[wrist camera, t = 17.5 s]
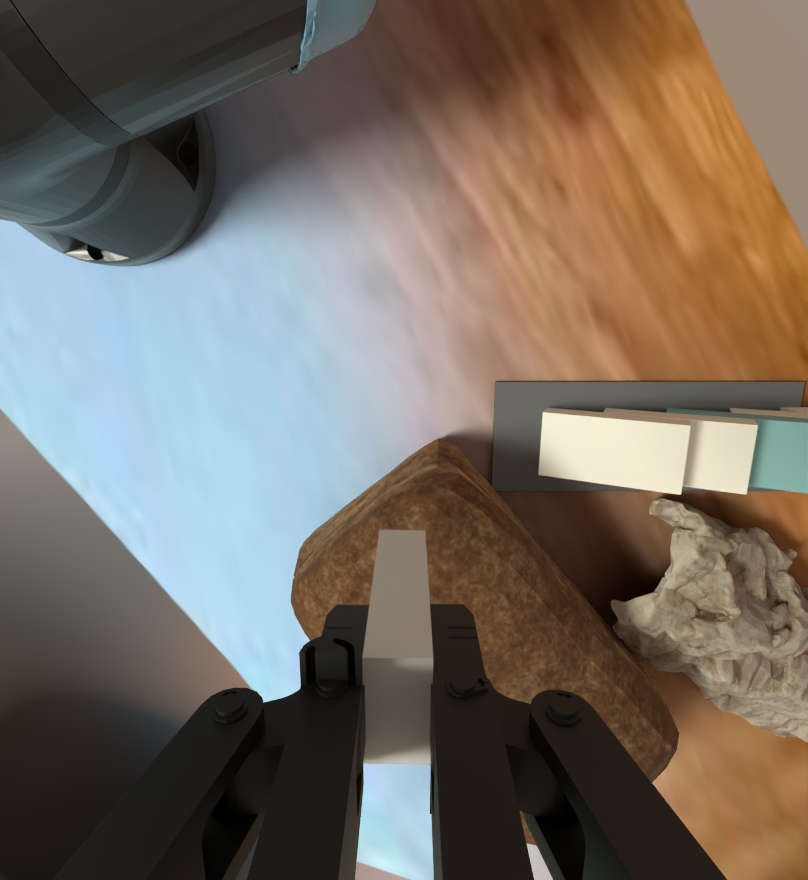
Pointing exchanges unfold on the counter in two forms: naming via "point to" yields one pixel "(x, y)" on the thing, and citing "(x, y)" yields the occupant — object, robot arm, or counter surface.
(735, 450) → the domino
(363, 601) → the bread
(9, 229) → the counter surface
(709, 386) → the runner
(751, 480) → the teal domino
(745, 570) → the rock
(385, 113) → the counter surface
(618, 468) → the domino
